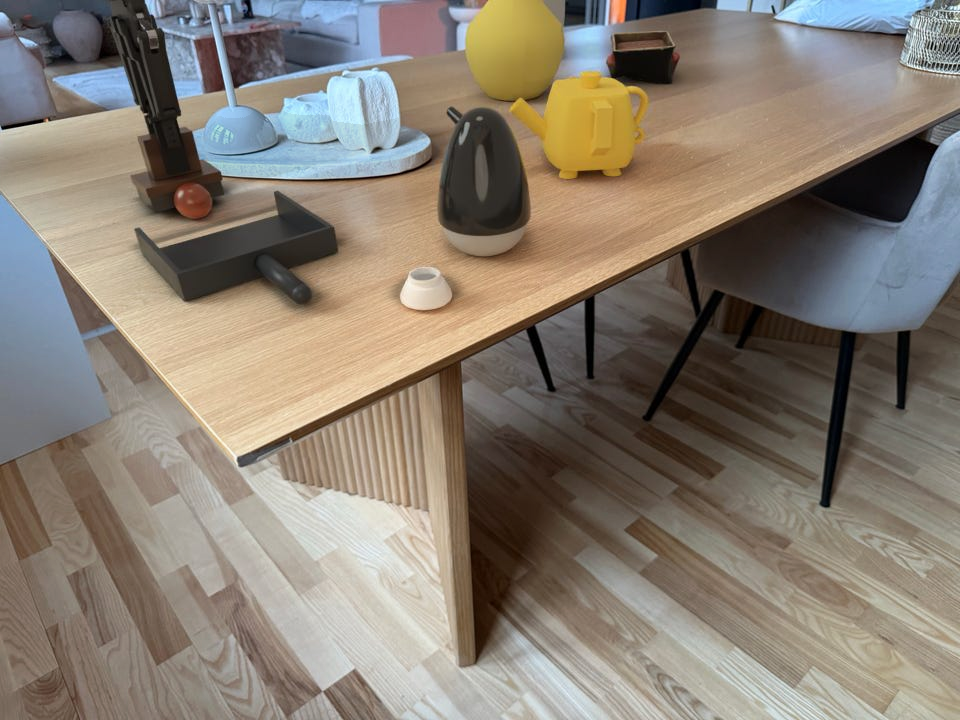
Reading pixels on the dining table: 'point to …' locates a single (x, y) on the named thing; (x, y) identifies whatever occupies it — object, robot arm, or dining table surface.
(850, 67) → the dining table surface
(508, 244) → the black soy sauce dispenser
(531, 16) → the vase
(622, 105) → the teapot
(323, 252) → the dustpan
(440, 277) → the white jar
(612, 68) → the black rectangular planter
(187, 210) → the bead
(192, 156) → the stepped wooden pedestal
